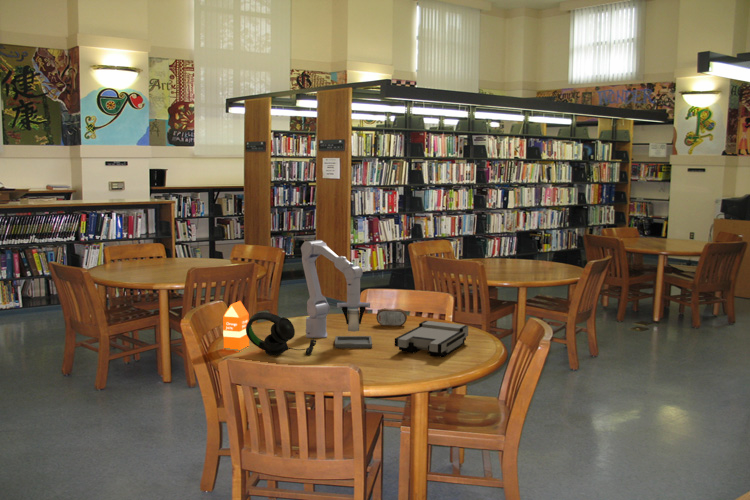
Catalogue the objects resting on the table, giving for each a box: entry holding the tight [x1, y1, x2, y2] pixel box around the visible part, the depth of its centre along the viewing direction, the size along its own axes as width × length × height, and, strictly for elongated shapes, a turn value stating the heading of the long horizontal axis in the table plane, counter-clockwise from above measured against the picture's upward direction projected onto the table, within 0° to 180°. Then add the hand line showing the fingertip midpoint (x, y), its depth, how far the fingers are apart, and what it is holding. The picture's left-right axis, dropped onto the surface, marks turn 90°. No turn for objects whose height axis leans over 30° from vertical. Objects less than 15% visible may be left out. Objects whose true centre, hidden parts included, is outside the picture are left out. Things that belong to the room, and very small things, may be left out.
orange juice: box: [222, 300, 250, 350], centre depth 284 cm, size 8×9×20 cm
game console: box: [394, 320, 469, 359], centre depth 286 cm, size 21×32×8 cm, turn 153°
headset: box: [246, 311, 317, 357], centre depth 276 cm, size 18×14×29 cm
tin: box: [375, 308, 408, 327], centre depth 328 cm, size 15×3×8 cm, turn 84°
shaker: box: [347, 308, 360, 333], centre depth 294 cm, size 5×5×9 cm
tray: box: [334, 335, 373, 349], centre depth 293 cm, size 16×14×2 cm
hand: (353, 323), depth 294 cm, fingers closed on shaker, 5 cm apart
